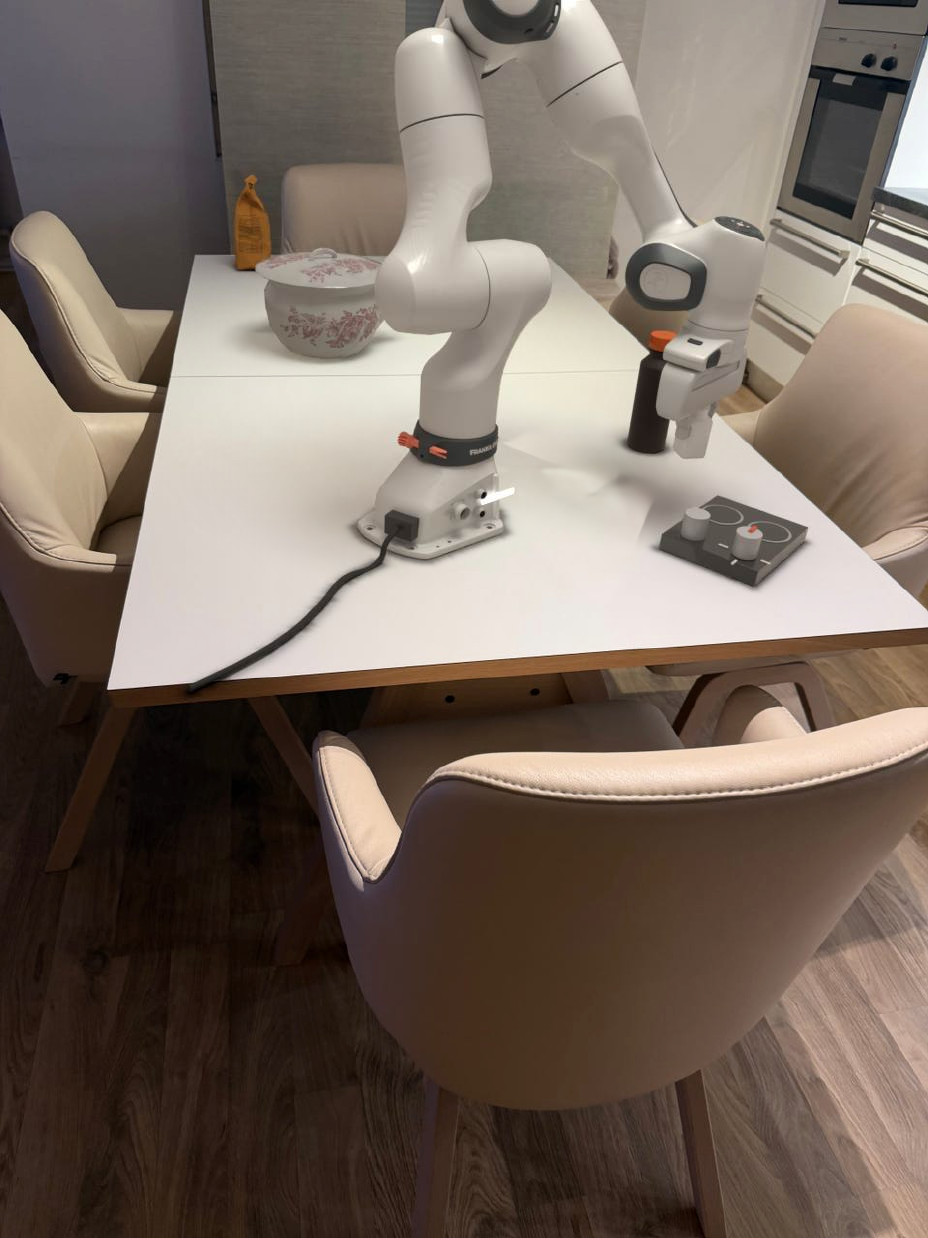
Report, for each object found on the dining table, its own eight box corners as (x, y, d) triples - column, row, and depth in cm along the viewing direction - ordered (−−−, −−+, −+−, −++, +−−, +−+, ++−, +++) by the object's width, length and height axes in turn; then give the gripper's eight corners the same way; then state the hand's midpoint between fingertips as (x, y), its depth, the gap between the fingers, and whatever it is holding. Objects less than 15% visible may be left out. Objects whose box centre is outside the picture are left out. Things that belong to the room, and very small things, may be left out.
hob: (753, 590, 131) (758, 573, 130) (655, 550, 139) (658, 534, 137) (806, 542, 144) (811, 527, 142) (714, 508, 151) (717, 493, 150)
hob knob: (750, 563, 132) (756, 539, 130) (726, 554, 134) (732, 530, 132) (761, 554, 135) (767, 530, 133) (738, 545, 136) (744, 521, 134)
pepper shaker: (681, 460, 143) (695, 400, 138) (670, 449, 146) (683, 390, 141) (705, 459, 144) (720, 399, 139) (694, 448, 147) (708, 389, 142)
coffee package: (276, 261, 263) (272, 174, 250) (270, 272, 252) (265, 182, 240) (239, 259, 262) (233, 171, 250) (232, 270, 252) (225, 180, 239)
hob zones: (758, 566, 132) (764, 544, 130) (668, 532, 139) (673, 510, 137) (798, 532, 141) (804, 511, 139) (712, 501, 148) (717, 480, 146)
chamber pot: (234, 356, 196) (227, 251, 185) (296, 322, 218) (293, 226, 207) (360, 379, 190) (360, 272, 178) (410, 341, 212) (413, 243, 200)
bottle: (638, 435, 175) (657, 325, 164) (671, 446, 172) (693, 335, 160) (619, 445, 170) (637, 333, 159) (652, 456, 167) (673, 343, 156)
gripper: (726, 321, 144) (706, 408, 152) (657, 349, 131) (639, 443, 138) (765, 333, 141) (742, 421, 149) (698, 362, 127) (677, 457, 135)
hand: (692, 432), depth 143 cm, fingers closed on pepper shaker, 5 cm apart
